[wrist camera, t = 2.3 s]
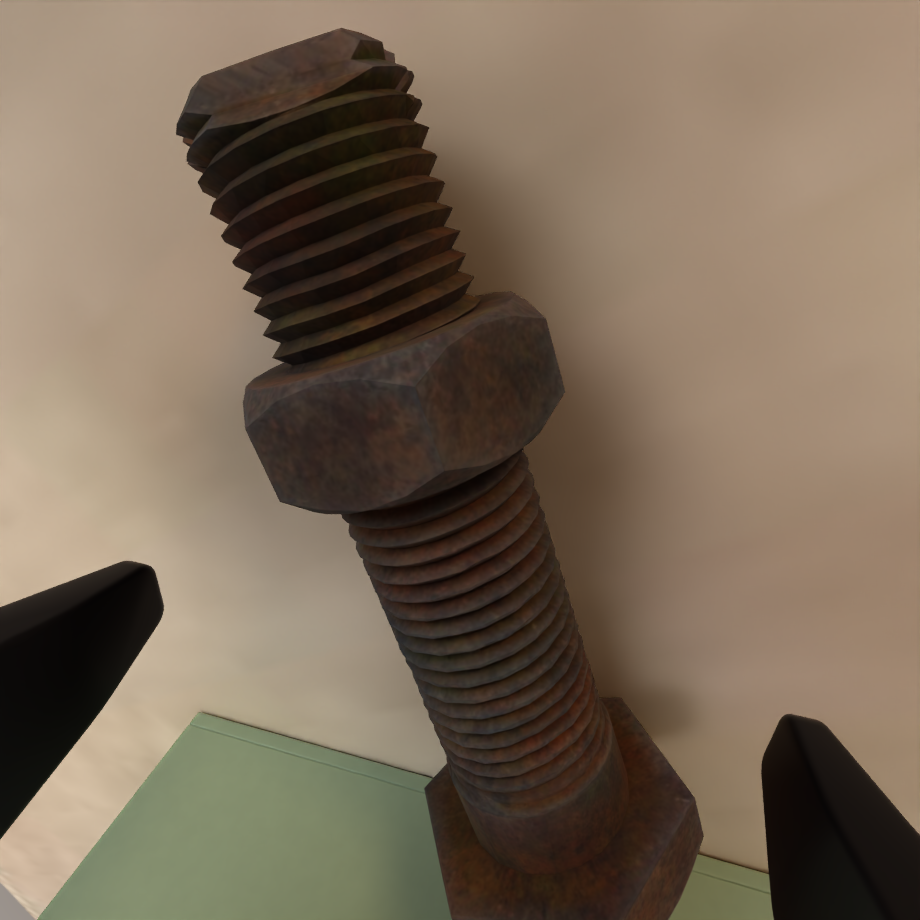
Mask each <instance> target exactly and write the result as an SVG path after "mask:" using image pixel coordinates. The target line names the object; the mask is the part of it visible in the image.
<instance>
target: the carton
mask: <svg viewBox="0 0 920 920" xmlns="http://www.w3.org/2000/svg"><path fill="white" fill-rule="evenodd" d="M432 779H433V778H429V777H426V776H422V775H419V774H415V773H412V772H408V771H405V770H401V769H398V768H394V767H391V766H387V765H384V764H380V763H377V762H373V761H370V760H366V759H363V758H359V757H356V756H352V755H349V754H345V753H342V752H338V751H335V750H331V749H328V748H324V747H320V746H317V745H313V744H310V743H306V742H303V741H299V740H296V739H292V738H289V737H285V736H282V735H278V734H275V733H271V732H268V731H264V730H261V729H257V728H254V727H250V726H247V725H243V724H240V723H236V722H233V721H229V720H226V719H222V718H219V717H215V716H212V715H208V714H205V713H201V712H199V713H198V714H197V715H196V716H195V718H194V719H193V720H192V721H191V723H190V725H188V726H187V728H186V729H185V730H184V731H183V733H182V734H181V735H180V737H179V738H178V739H177V740H176V742H175V743H174V744H173V746H172V747H171V748H170V749H169V751H168V752H167V753H166V755H165V756H164V757H163V758H162V760H161V761H160V762H159V764H158V765H157V766H156V767H155V769H154V770H153V771H152V773H151V774H150V775H149V776H148V778H147V779H146V780H145V782H144V783H143V784H142V785H141V787H140V788H139V789H138V791H137V792H136V793H135V794H134V796H133V797H132V798H131V800H130V801H129V802H128V803H127V805H126V806H125V807H124V809H123V810H122V811H121V812H120V814H119V815H118V816H117V818H116V819H115V820H114V821H113V823H112V824H111V825H110V827H109V828H108V829H107V830H106V832H105V833H104V834H103V835H102V837H101V838H100V839H99V841H98V842H97V843H96V844H95V846H94V847H93V848H92V850H91V851H90V852H89V853H88V855H87V856H86V857H85V859H84V860H83V861H82V862H81V864H80V865H79V866H78V868H77V869H76V870H75V871H74V873H73V874H72V875H71V877H70V878H69V879H68V880H67V882H66V883H65V884H64V886H63V887H62V888H61V889H60V891H59V892H58V893H57V895H56V896H55V897H54V898H53V900H52V901H51V902H50V904H49V905H48V906H47V907H46V909H45V910H44V911H43V913H42V914H41V915H40V916H39V918H38V919H37V920H452V918H451V915H450V911H449V906H448V901H447V896H446V892H445V887H444V882H443V878H442V873H441V868H440V863H439V859H438V854H437V849H436V844H435V839H434V834H433V829H432V824H431V820H430V815H429V810H428V805H427V800H426V795H425V790H424V788H425V787H426V786H427V784H428V783H429V782H430V781H431V780H432ZM669 920H774V918H773V911H772V903H771V893H770V882H769V874H766V873H762V872H759V871H755V870H752V869H748V868H745V867H741V866H738V865H734V864H731V863H727V862H724V861H720V860H717V859H713V858H710V857H706V856H703V855H699V854H698V855H697V858H696V861H695V864H694V867H693V870H692V872H691V875H690V877H689V879H688V882H687V884H686V886H685V889H684V891H683V894H682V896H681V898H680V900H679V902H678V904H677V905H676V907H675V909H674V911H673V913H672V914H671V916H670V918H669Z"/></svg>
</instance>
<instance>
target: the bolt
mask: <svg viewBox="0 0 920 920" xmlns="http://www.w3.org/2000/svg"><path fill="white" fill-rule="evenodd" d="M413 78H414V74H413V73H412V71H408V70H407V68H406V67H405V66H402V65H399V64H396V63H395V57H394V54H393V53H391V52H389V51H386V50H384V48H383V44H382V42H381V41H379V40H376V39H374V38H372V37H369V36H367V35H364V34H362V33H359V32H355V31H351V30H347V29H343V28H340V29H337V30H334V31H331V32H328V33H324V34H321V35H318V36H315V37H312V38H309V39H306V40H303V41H300V42H297V43H294V44H291V45H288V46H285V47H282V48H279V49H276V50H273V51H270V52H268V53H265V54H262V55H259V56H256V57H254V58H251V59H248V60H245V61H243V62H240V63H237V64H234V65H232V66H229V67H226V68H223V69H221V70H218V71H215V72H212V73H209V74H207V75H204V76H202V77H201V78H200V79H199V80H198V81H197V83H196V84H195V85H194V86H193V87H192V89H191V90H190V93H189V96H188V99H187V102H186V104H185V107H184V109H183V111H182V114H181V116H180V118H179V121H178V123H177V130H176V135H179V136H182V137H184V138H183V142H184V143H185V144H186V145H188V146H189V147H190V149H189V151H188V153H187V162H188V164H189V165H190V166H191V167H193V168H194V169H195V170H197V171H200V172H202V173H203V175H202V176H201V178H200V179H199V181H198V184H199V185H200V187H201V189H202V191H203V192H204V193H206V194H208V195H210V196H212V197H214V198H216V200H215V202H214V203H213V205H212V209H211V212H210V214H211V215H213V216H214V217H216V218H218V219H220V220H222V221H223V222H225V223H227V224H229V225H228V226H227V228H226V229H225V231H224V232H223V234H222V235H221V237H222V238H223V240H224V242H226V243H228V244H230V245H232V246H234V247H237V248H239V249H241V250H240V252H239V253H238V254H237V256H236V257H235V259H234V260H233V264H234V265H235V266H236V267H238V268H240V269H242V270H244V271H246V272H249V273H251V274H252V275H251V276H250V278H249V279H248V281H247V283H246V284H245V286H244V287H243V289H244V290H246V291H248V292H250V293H253V294H255V295H257V296H259V297H261V300H260V302H259V303H258V305H257V307H256V308H255V310H254V312H255V313H257V314H259V315H261V316H263V317H265V318H267V319H269V320H271V323H270V324H269V326H268V328H267V329H266V331H265V332H264V334H263V336H265V337H268V338H270V339H273V340H275V341H277V342H280V343H281V345H280V346H279V348H278V349H277V351H276V353H275V354H274V356H273V357H272V358H275V359H277V360H280V361H282V362H285V363H283V364H280V365H278V366H276V367H274V368H272V369H270V370H268V371H267V372H265V373H263V374H261V375H260V376H258V377H256V378H254V379H253V380H252V381H251V382H250V383H249V384H248V385H247V386H246V389H245V395H244V400H243V408H244V419H245V429H246V431H247V433H248V436H249V438H250V440H251V442H252V444H253V446H254V448H255V450H256V452H257V454H258V457H259V459H260V461H261V463H262V465H263V467H264V469H265V471H266V473H267V475H268V478H269V480H270V482H271V484H272V486H273V488H274V490H275V492H276V494H277V497H278V499H279V501H280V502H283V503H286V504H289V505H293V506H296V507H299V508H303V509H306V510H309V511H312V512H317V513H324V514H341V515H342V518H343V519H344V520H345V521H346V522H347V523H350V525H349V534H350V536H351V537H352V538H353V539H354V540H355V541H357V544H356V549H357V551H358V553H359V555H360V557H361V558H363V563H364V567H365V569H366V571H367V573H368V575H369V576H370V579H371V581H372V584H373V587H374V589H375V592H376V593H377V595H378V597H379V600H380V603H381V605H382V608H383V609H384V611H385V614H386V616H387V619H388V621H389V624H390V625H391V627H392V630H393V632H394V635H395V637H396V640H397V641H398V644H399V648H400V650H401V652H402V654H403V655H404V656H405V657H406V662H407V664H408V666H409V667H410V669H411V670H412V673H413V677H414V679H415V681H416V684H417V685H418V688H419V692H420V694H421V696H422V698H423V702H424V706H425V707H426V709H427V710H428V713H429V718H430V720H431V721H432V723H433V724H434V729H435V732H436V734H437V736H438V737H439V739H440V743H441V746H442V747H443V748H444V750H445V753H446V755H447V764H446V765H445V766H444V767H443V768H442V770H441V771H440V772H439V773H438V774H437V775H436V776H435V777H434V778H433V779H432V780H431V781H430V782H429V783H428V784H427V786H426V787H425V788H424V790H425V795H426V800H427V805H428V810H429V815H430V820H431V824H432V829H433V834H434V839H435V844H436V849H437V854H438V859H439V863H440V868H441V873H442V878H443V882H444V887H445V892H446V896H447V901H448V906H449V911H450V915H451V918H452V920H669V918H670V916H671V914H672V913H673V911H674V909H675V907H676V905H677V904H678V902H679V900H680V898H681V896H682V894H683V891H684V889H685V886H686V884H687V882H688V879H689V877H690V875H691V872H692V870H693V867H694V864H695V861H696V858H697V855H698V852H699V849H700V846H701V843H702V840H703V837H704V836H703V831H702V827H701V823H700V818H699V814H698V810H697V806H696V801H695V798H694V796H693V795H692V794H691V792H690V791H689V790H688V788H687V787H686V785H685V784H684V783H683V781H682V780H681V779H680V777H679V776H678V775H677V773H676V772H675V771H674V769H673V768H672V767H671V765H670V764H669V762H668V761H667V760H666V758H665V757H664V756H663V754H662V753H661V752H660V750H659V749H658V748H657V746H656V745H655V743H654V742H653V741H652V739H651V738H650V737H649V735H648V734H647V733H646V731H645V730H644V729H643V727H642V726H641V724H640V723H639V722H638V720H637V719H636V718H635V716H634V715H633V714H632V712H631V711H630V710H629V708H628V707H627V705H626V704H625V703H624V701H623V700H622V699H621V698H599V694H598V691H597V689H596V687H595V683H594V678H593V676H592V673H591V669H590V664H589V662H588V660H587V658H586V655H585V651H584V647H583V641H582V637H581V635H580V633H579V631H578V625H577V622H576V619H575V617H574V611H573V608H572V605H571V603H570V600H569V594H568V592H567V589H566V586H565V580H564V578H563V575H562V573H561V571H560V564H559V561H558V559H557V558H556V556H555V547H554V545H553V543H552V540H551V538H550V533H549V530H548V527H547V524H546V522H545V513H544V511H543V510H542V509H541V507H540V506H539V499H540V497H539V494H538V493H537V491H536V490H535V488H534V487H533V486H534V479H533V475H532V474H531V472H530V471H529V470H528V466H529V462H528V458H527V456H526V455H525V454H524V452H522V451H523V447H524V446H526V445H527V444H528V443H530V442H531V441H532V440H533V439H534V438H535V437H536V436H537V435H538V434H539V433H540V431H541V430H542V428H543V426H544V425H545V423H546V422H547V420H548V418H549V417H550V415H551V414H552V412H553V410H554V409H555V407H556V406H557V404H558V402H559V401H560V399H561V398H562V396H563V394H564V393H565V389H564V386H563V382H562V378H561V374H560V370H559V367H558V363H557V359H556V355H555V351H554V348H553V344H552V340H551V336H550V333H549V329H548V325H547V321H546V318H544V317H543V316H542V315H541V314H540V313H539V312H538V311H537V310H536V309H535V308H534V307H533V306H532V305H531V304H530V303H528V302H527V301H526V300H525V299H523V298H521V297H520V296H518V295H516V294H515V293H513V292H495V293H490V294H485V295H480V296H475V297H473V296H470V295H467V294H465V292H466V291H467V289H468V287H469V285H470V283H471V281H472V279H473V278H474V277H473V276H471V275H468V274H465V273H462V272H459V271H458V270H459V268H460V266H461V264H462V261H463V259H464V257H465V253H463V252H460V251H457V250H454V249H451V248H452V246H453V244H454V242H455V240H456V238H457V236H458V235H459V233H460V231H458V230H455V229H451V228H448V227H444V224H445V222H446V220H447V218H448V217H449V215H450V213H451V211H452V209H453V208H452V207H449V206H446V205H443V204H440V203H437V201H438V199H439V196H440V194H441V192H442V190H443V187H444V185H445V182H444V181H441V180H438V179H436V178H433V177H430V176H429V175H430V173H431V171H432V168H433V166H434V163H435V161H436V159H437V156H436V154H435V153H432V152H429V151H426V150H424V149H421V148H422V145H423V142H424V140H425V137H426V135H427V132H428V129H429V127H427V126H424V125H421V124H419V123H416V122H414V119H415V118H416V116H417V114H418V112H419V111H420V109H421V106H422V102H421V100H420V99H417V98H415V97H414V96H413V95H410V94H407V91H408V89H409V88H410V86H411V84H412V82H413Z"/></svg>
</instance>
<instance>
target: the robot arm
mask: <svg viewBox="0 0 920 920" xmlns="http://www.w3.org/2000/svg"><path fill="white" fill-rule="evenodd" d="M163 611H164V604H163V600H162V596H161V592H160V588H159V584H158V580H157V577H156V573H155V571H154V569H153V568H152V567H151V566H149V565H146V564H141V563H137V562H133V561H123V562H120V563H117V564H114V565H112V566H109V567H106V568H104V569H101V570H98V571H96V572H93V573H90V574H88V575H85V576H82V577H80V578H77V579H74V580H72V581H69V582H66V583H64V584H61V585H58V586H56V587H53V588H50V589H48V590H45V591H42V592H40V593H37V594H34V595H32V596H29V597H26V598H24V599H21V600H18V601H16V602H13V603H10V604H8V605H5V606H2V607H0V839H1V838H2V837H3V835H4V834H5V833H6V831H7V830H8V829H9V828H10V826H11V825H12V824H13V823H14V821H15V820H16V819H17V817H18V816H19V815H20V814H21V812H22V811H23V810H24V809H25V807H26V806H27V805H28V803H29V802H30V801H31V800H32V798H33V797H34V796H35V795H36V793H37V792H38V791H39V789H40V788H41V787H42V786H43V784H44V783H45V782H46V781H47V779H48V778H49V777H50V775H51V774H52V773H53V772H54V770H55V769H56V768H57V767H58V765H59V764H60V763H61V762H62V760H63V759H64V758H65V756H66V755H67V754H68V753H69V751H70V750H71V749H72V748H73V746H74V745H75V744H76V742H77V741H78V740H79V739H80V737H81V736H82V735H83V734H84V732H85V731H86V730H87V728H88V727H89V726H90V725H91V723H92V722H93V721H94V719H95V718H96V717H97V715H98V714H99V713H100V711H101V710H102V709H103V707H104V706H105V704H106V703H107V701H108V700H109V698H110V697H111V696H112V694H113V693H114V691H115V689H116V688H117V686H118V685H119V683H120V682H121V680H122V679H123V677H124V676H125V674H126V673H127V671H128V670H129V668H130V666H131V665H132V663H133V662H134V660H135V659H136V657H137V656H138V654H139V653H140V651H141V650H142V648H143V647H144V645H145V644H146V642H147V640H148V639H149V637H150V636H151V634H152V633H153V631H154V630H155V628H156V627H157V625H158V624H159V622H160V620H161V618H162V615H163ZM761 774H762V788H763V802H764V815H765V828H766V842H767V855H768V868H769V882H770V893H771V903H772V911H773V918H774V920H920V835H919V834H918V833H917V832H916V830H915V829H914V828H913V827H912V826H911V825H910V823H909V822H908V821H907V820H906V819H905V818H904V816H903V815H902V814H901V813H900V812H899V810H898V809H897V808H896V807H895V806H894V805H893V803H892V802H891V801H890V800H889V799H888V798H887V796H886V795H885V794H884V793H883V792H882V790H881V789H880V788H879V787H878V786H877V785H876V783H875V782H874V781H873V780H872V779H871V778H870V776H869V775H868V774H867V773H866V772H865V770H864V769H863V768H862V767H861V766H860V765H859V763H858V762H857V761H856V760H855V759H854V758H853V756H852V755H851V754H850V753H849V752H848V750H847V749H846V748H845V747H844V746H843V745H842V743H841V742H840V741H839V740H838V739H837V738H836V736H835V735H834V734H833V733H832V732H831V730H830V729H829V728H828V727H827V726H826V725H825V724H823V723H822V722H820V721H818V720H814V719H810V718H806V717H801V716H797V715H793V714H786V715H784V716H783V717H782V718H781V719H780V721H779V723H778V725H777V727H776V729H775V731H774V734H773V736H772V738H771V740H770V742H769V744H768V746H767V749H766V751H765V753H764V756H763V760H762V770H761Z"/></svg>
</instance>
